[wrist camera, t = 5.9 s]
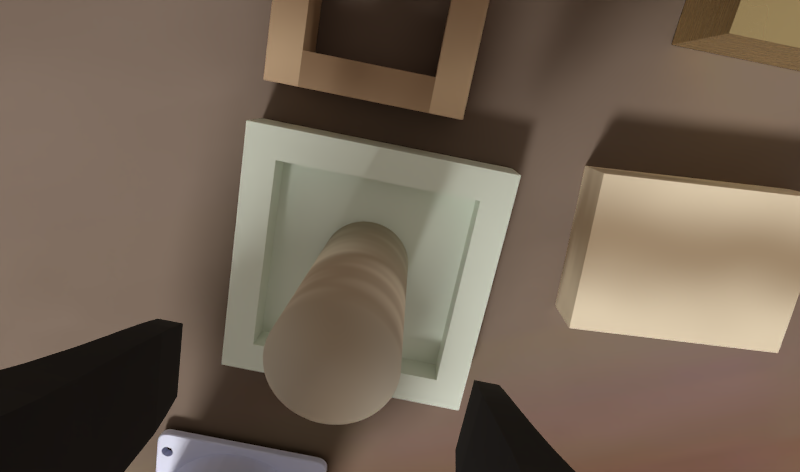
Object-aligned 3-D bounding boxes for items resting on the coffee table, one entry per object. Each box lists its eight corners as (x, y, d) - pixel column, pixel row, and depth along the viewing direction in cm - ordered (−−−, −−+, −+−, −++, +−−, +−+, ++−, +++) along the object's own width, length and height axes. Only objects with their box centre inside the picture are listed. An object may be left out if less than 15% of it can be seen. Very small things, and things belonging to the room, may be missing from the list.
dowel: (413, 227, 20) (409, 310, 12) (402, 308, 21) (391, 433, 13) (326, 215, 20) (266, 291, 12) (319, 296, 21) (259, 414, 13)
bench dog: (804, 72, 18) (892, 67, 15) (671, 44, 18) (728, 33, 15) (840, -17, 17) (942, -45, 14) (701, -46, 17) (769, -81, 14)
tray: (455, 385, 22) (458, 410, 20) (237, 343, 22) (221, 364, 20) (512, 168, 19) (521, 175, 18) (262, 118, 19) (246, 120, 18)
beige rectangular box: (737, 324, 21) (778, 352, 19) (552, 302, 21) (569, 328, 19) (782, 187, 20) (832, 199, 17) (581, 164, 20) (604, 173, 17)
